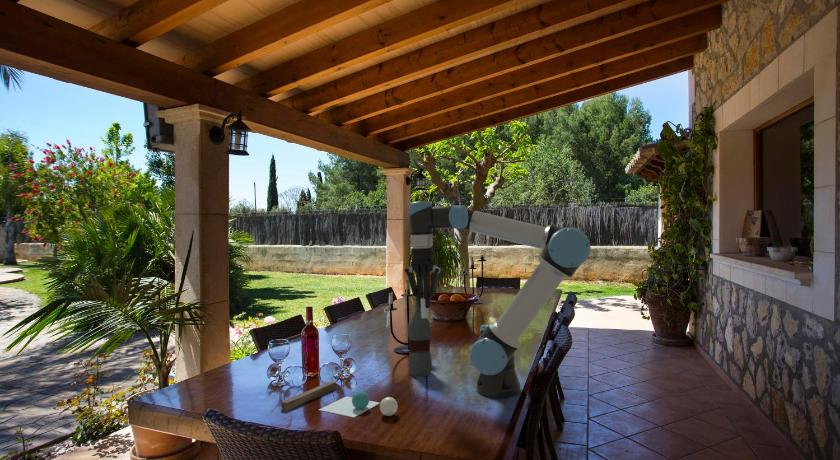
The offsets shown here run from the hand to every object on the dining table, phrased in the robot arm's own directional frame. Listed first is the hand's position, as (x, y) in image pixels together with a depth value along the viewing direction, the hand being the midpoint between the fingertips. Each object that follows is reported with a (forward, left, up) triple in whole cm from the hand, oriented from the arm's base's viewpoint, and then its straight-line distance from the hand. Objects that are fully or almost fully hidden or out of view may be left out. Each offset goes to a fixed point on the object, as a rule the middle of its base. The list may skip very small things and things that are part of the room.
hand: (425, 317), depth 171 cm
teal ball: (+14, +18, -25) cm, 34 cm away
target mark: (+18, +18, -27) cm, 38 cm away
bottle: (+16, -24, -27) cm, 40 cm away
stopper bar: (+35, +18, -27) cm, 48 cm away
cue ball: (+3, +19, -25) cm, 31 cm away
